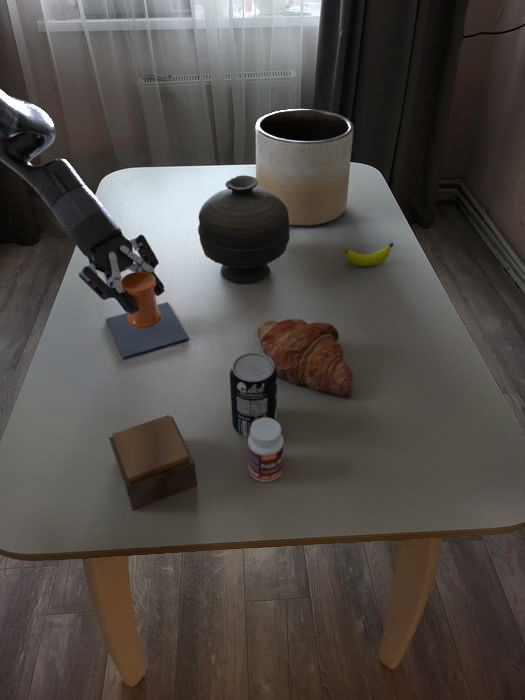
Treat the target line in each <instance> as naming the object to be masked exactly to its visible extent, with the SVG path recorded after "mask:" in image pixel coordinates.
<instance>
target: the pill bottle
mask: <svg viewBox="0 0 525 700" xmlns="http://www.w3.org/2000/svg"><path fill="white" fill-rule="evenodd" d="M284 444H285V443H284V437H283V434H282V427H281V425H280V423H279V422H278V421H277V419H276V420H274V419H271V418H260V419H257V420H256V421H254V422H253V423H252V425H251V428H250V435H249V437H248V438H247V462H248V463H247V465H248V468H247V469H248V472H249V474H250V476H251V477H252V478H253V479H254V480H256V481H259V482H262V483H269V482H272V481H274V480H277V479H278V478H279V477H280V476H281V475H282V472H283V465H284V463H283V461H284Z"/></svg>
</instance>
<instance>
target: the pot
mask: <svg viewBox="0 0 525 700" xmlns="http://www.w3.org/2000/svg"><path fill="white" fill-rule="evenodd" d="M257 184H258V181H257V179H256V177H254V176H252V175H243V174H242V175H236V176H235V177H234V176H232V177H229V178H228V180H227V181H225V187H226V189H223V190H220V191H218V192H216V193H215V194H213V195H212V196H210V197H209V198H208V199H207V200H206V201H205V202H204V203H203V204H202V206H201V208H200V209H199V213H198V220H199V222H198V228H197V233H198V236H199V243H200V245H201V248H202V251H203V253H204V254H203V255H204V256H205V257H206V258H207V259H210V260H211V261H212V262H214V263H217V264H220V265H221V267H220V275H221V277H222V278H223V279H224V280H226V281H227V282H230V283H233V284H235V285H246V286H247V285H254V284H258V283H261V282H264V280H266V279H268V277H270V273H271V268H270V263H272V262H274V261H276V260H277V259H279V258H280V257H281V256H283V254H285V252H286V250H287V248H288V244H289V242H290V229H291V227H290V226H291V225H289V217H288V210H287V208H286V206H285V204H284V203H283V202H282V201H281V200H280V199H279V198H278V197H277V196H275V195H274V194H272V193H270V192H269V191H267V190H265V189H262V188H257V187H256V186H257Z"/></svg>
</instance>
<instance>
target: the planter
mask: <svg viewBox="0 0 525 700" xmlns="http://www.w3.org/2000/svg"><path fill="white" fill-rule="evenodd" d="M353 139H354V124H353V122H352V121H350V119H348V118H347V117H344V116H343V115H340V114H338V113H334V112H331V111H326V110H320V109H307V108H306V109H305V108H298V109H297V108H296V109H295V108H294V109H286V110H279V111H274V112H272V113H269V114H266V115H264V116H262V117H260V118H259V119H258V120H257V122H256V124H255V178H256V179H257V181H258V184H257V186H256V187H257V188H262V189H265V190H267V191H269V192H270V193H272V194H274V195H275V196H277V197H278V198H279V199H280V200H281V201H282V202H283V203H284V204H285V206H286V208H287V210H288V217H289V226H292V227H313V226H320V225H323V224H326V223H330V222H331V221H333V220H335V219H337V218H338V217H340V216H341V215H343V213H344V212H345V210H346V208H347V203H348V196H349V195H348V194H349V183H350V172H351V171H350V169H351V158H352V147H353Z"/></svg>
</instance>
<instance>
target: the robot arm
mask: <svg viewBox="0 0 525 700" xmlns="http://www.w3.org/2000/svg"><path fill="white" fill-rule="evenodd" d="M56 133H57V132H56V127H55V124H54V122H53V120H52V119H51V117H49V115H48V113H46V112H45V111H44V110H43V109H41V108H40V107H38V106H37V105H35V104H34V103H32V102H29V101H26V100H25V99H24V100H23V99H20V98H17V97H14V96H11V95H8V94H6V92H4V91H3V90H2V89H1V88H0V161H1V162H2V163H3V164H4V165H6V166H7V167H9V168H10V169H11V170H13V171H14V172H15V173H16V174H18V175H19V176H20V177H21V178H22V179H23V180H24V181H26V182H27V183H28V184H29V185H30V186H31V187H32V188H33V189H34V190H35V192H36V193H37V194H38V195H39V197H40V198H41V199H42V200H43V202H44V203H45V204H46V205H47V207H48V208H49V209H50V210H51V212H52V213H53V215H54V217H55V219H56V220H57V222H58V224H59V225H60V226H61V227H62V229H63V231H64V232H65V233H66V234H67V235H68V237H69V238H70V239H71V240H72V241H73V243H74V244H75V245H76V247H77V248H78V249H79V251H80V252H81V253H82V255H83V256H84V257H86V258H87V259H88V262H89V264H88V265H86V266H84V267H83V268H82V270H80V272H79V273H78V278H80V279H81V280H82V281H83V282H84V283H85V284H86V285H87V286H88V287H89V288H90V289H91V291H93V292H94V293H95V294H96V295H97V296H98V297H99V298H100V299H101V300H104V301H106V300H108V299H111V298H112V299H115V300H116V301H117V303H118V304H119V305H120V307H121V308H122V309H123V310H124V312H126V313H130V314H133V313H135V312H136V311H137V310H139V308H138V306H137V305H136V304H135V302H134V301H133V300H132V298H131V297H130V296H129V295H128V293H127V292H126V291H125V292H124V291H123V287H122V283H121V280H122V275H121V273H122V272H126V271H127V270H129V271H130V272H131V273H133V272H148V273H150V274H152V275H153V276H154V277H155V281H156V285H155V287H154V290H155V296H156V297H159V296H162V294H163V293H165V286H164V283H163V282H162V281H161V280H160V278H159V276H158V275H157V274H156V273H155V269H156V267H157V266H158V265H159V259H158V258H157V256H156V254H155V252H154V250H153V249H152V247H151V246H150V244H149V242H148V241H147V238H146V237H145V236H144V235H143V234H139V235H138V236H137V237H135V238H132V239H129V238H127V237H126V236H124V234H123V232H122V229H121V228H120V226H119V225H118V223H117V222H116V220H115V219H114V218H113V216H111V214H110V213H109V212H108V210H107V209H106V207H105V206H104V204H103V203H102V202H101V201H100V199H99V198H98V197H97V196H96V195H95V194H94V192H93V191H92V190H91V189H90V188H89V187H88V186H87V185H86V183H85V182H84V181H83V179H82V178H81V177H80V176H79V174H78V173H77V171H76V170H75V169H74V168H73V166H72V165H71V164H70V162H68V161H67V160H66V159H64V158H55V159H52V160H49V161H47V162H45V163H42V164H39V165H33V164H32V163H31V161H32V160H34V158H36V157H37V156H39V155H40V154H42V153H43V151H45V150H47V149H48V148H49V147H50V146H52V144H53V143H54V142H55V139H56V136H57V135H56ZM135 252H137V253H138V254H137V253H135ZM98 272H100V273H102V274H103V277H104V280H103V279H102V278H101V277H100V276H99V275H98Z"/></svg>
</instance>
